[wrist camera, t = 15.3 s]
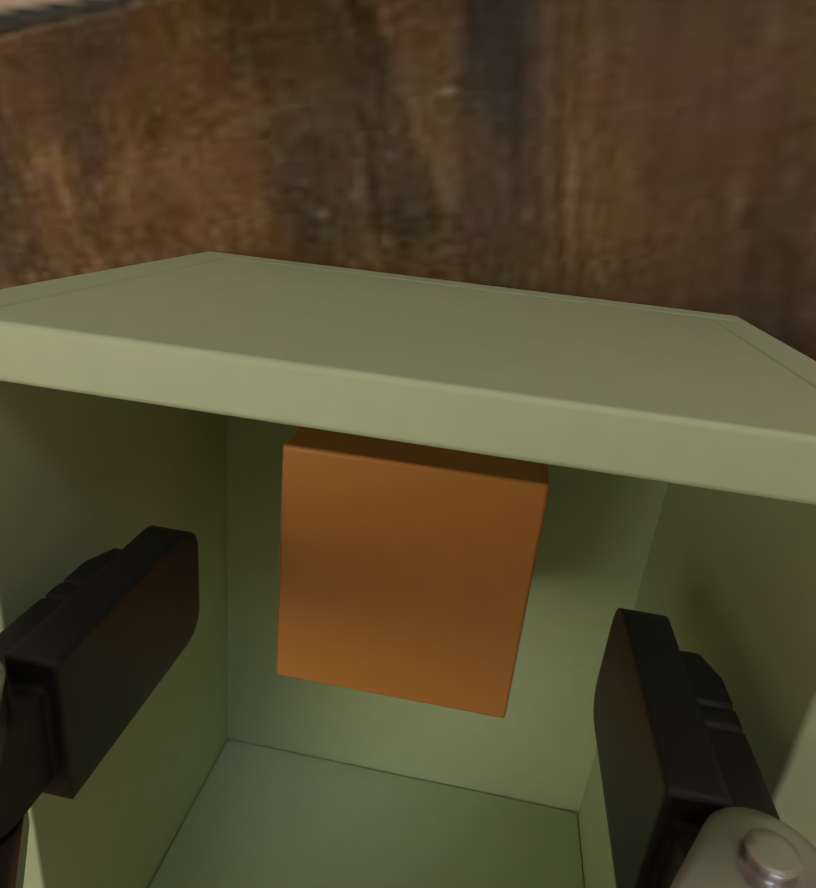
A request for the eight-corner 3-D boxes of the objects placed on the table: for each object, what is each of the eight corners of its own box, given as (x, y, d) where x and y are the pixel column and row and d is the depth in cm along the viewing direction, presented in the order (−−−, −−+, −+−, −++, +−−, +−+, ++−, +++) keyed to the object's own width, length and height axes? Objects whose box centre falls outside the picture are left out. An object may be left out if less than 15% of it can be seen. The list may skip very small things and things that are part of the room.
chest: (208, 250, 16) (-104, 307, 8) (738, 315, 15) (1001, 462, 7) (214, 732, 22) (34, 1047, 14) (597, 813, 21) (646, 1217, 12)
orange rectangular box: (350, 372, 16) (281, 444, 11) (542, 398, 15) (550, 485, 11) (339, 550, 18) (274, 675, 13) (509, 579, 17) (505, 720, 13)
